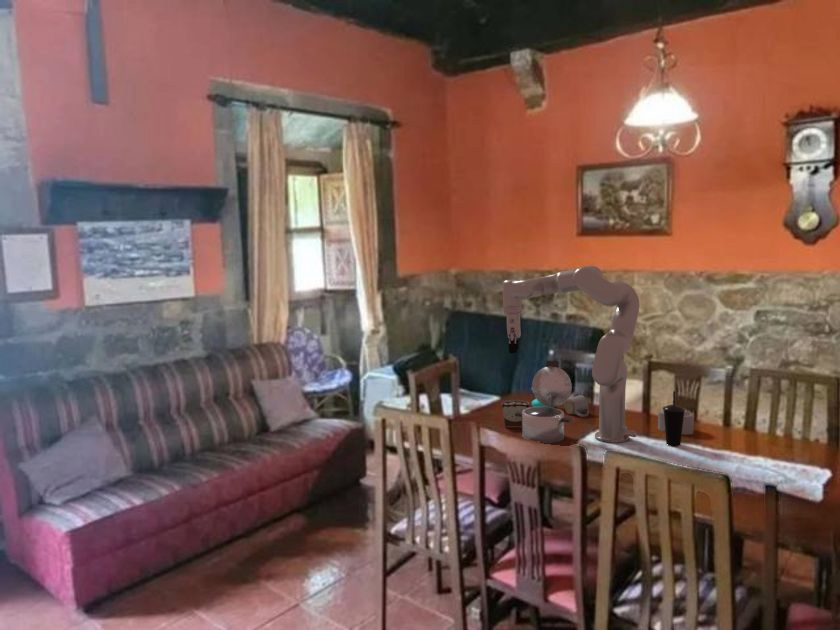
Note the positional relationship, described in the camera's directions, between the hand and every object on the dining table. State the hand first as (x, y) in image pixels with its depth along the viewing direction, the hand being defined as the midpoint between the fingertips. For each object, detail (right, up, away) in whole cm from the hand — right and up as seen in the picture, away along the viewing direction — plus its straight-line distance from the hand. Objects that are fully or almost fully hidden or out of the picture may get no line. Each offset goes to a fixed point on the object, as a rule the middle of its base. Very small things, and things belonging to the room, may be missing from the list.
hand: (513, 351), depth 272 cm
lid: (+14, -12, -9) cm, 21 cm away
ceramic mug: (+30, -29, +16) cm, 45 cm away
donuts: (+17, -27, +30) cm, 44 cm away
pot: (+9, -33, -15) cm, 37 cm away
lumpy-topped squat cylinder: (+63, -31, -11) cm, 71 cm away
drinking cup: (+55, -33, -28) cm, 70 cm away
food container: (+1, -31, +2) cm, 31 cm away
